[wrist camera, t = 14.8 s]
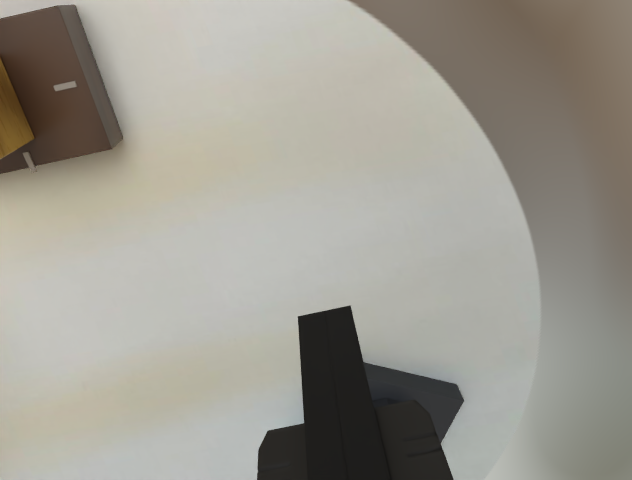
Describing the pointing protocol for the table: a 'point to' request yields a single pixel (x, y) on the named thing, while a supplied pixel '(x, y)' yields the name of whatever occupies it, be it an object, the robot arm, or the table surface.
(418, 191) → the table surface
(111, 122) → the plate
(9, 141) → the lock knob
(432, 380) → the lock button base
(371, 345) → the table surface
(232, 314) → the table surface
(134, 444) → the table surface
